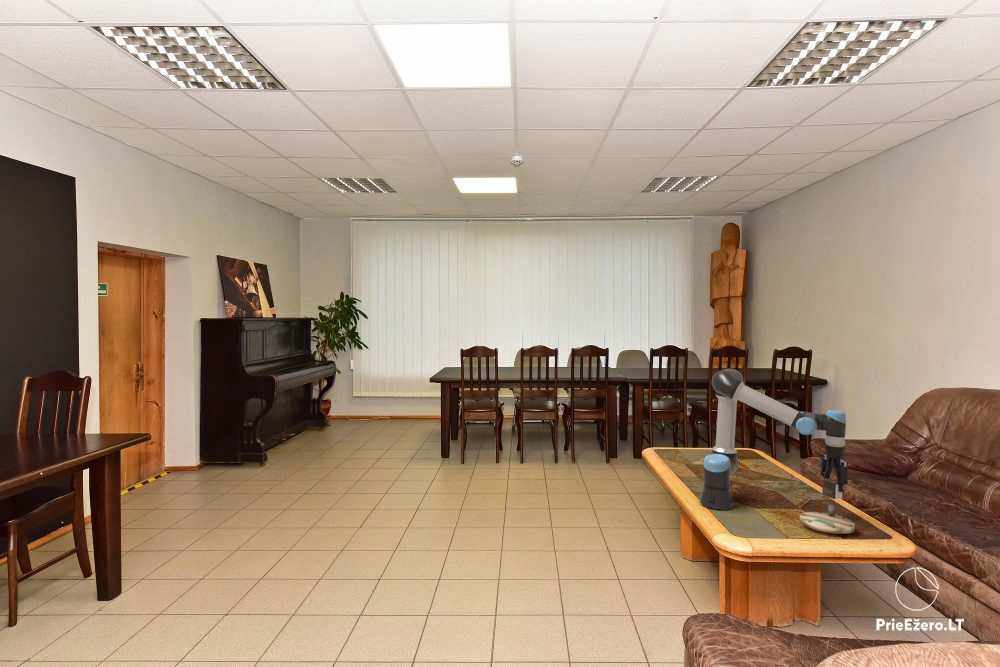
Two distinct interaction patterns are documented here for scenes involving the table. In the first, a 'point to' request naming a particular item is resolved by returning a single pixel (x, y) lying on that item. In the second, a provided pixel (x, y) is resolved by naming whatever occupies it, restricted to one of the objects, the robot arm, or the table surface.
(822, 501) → the table surface
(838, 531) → the turntable
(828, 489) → the box
